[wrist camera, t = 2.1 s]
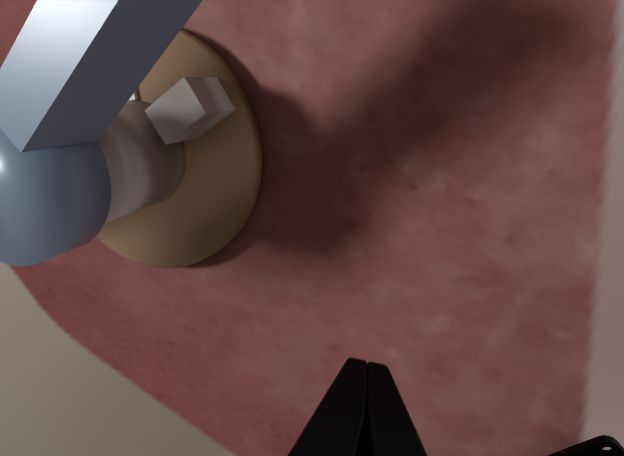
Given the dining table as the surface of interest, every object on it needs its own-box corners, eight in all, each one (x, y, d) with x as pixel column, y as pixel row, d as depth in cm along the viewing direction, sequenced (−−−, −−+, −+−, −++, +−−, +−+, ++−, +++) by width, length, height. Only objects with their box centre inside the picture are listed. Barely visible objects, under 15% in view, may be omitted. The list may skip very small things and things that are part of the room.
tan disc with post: (312, 167, 21) (250, 199, 15) (165, 300, 26) (79, 361, 20) (140, -41, 20) (12, -86, 15) (28, 136, 26) (-97, 151, 20)
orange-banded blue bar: (62, 275, 19) (-11, 309, 16) (-33, 162, 19) (-123, 177, 16) (304, -7, 12) (252, -31, 10) (161, -180, 12) (67, -255, 10)
